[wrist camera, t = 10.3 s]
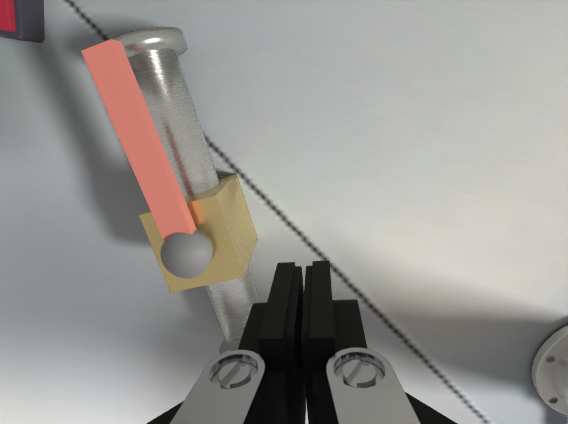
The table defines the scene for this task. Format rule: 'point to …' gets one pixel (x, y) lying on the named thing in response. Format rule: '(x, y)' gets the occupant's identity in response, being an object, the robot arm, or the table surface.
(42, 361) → the table surface
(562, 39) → the table surface
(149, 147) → the lever
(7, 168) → the table surface
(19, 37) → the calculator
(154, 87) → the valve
